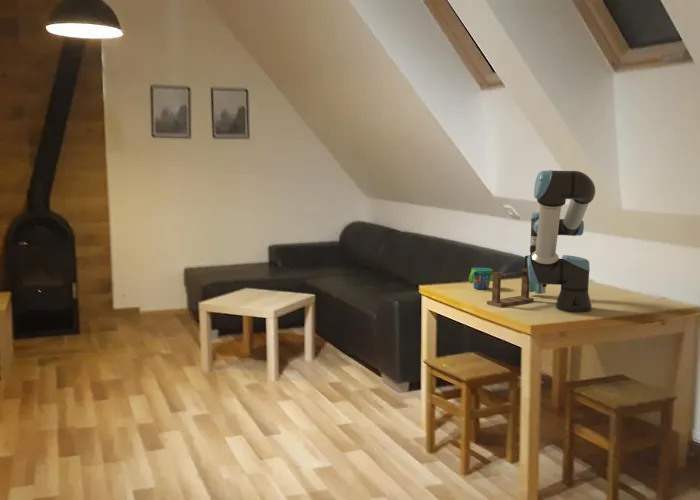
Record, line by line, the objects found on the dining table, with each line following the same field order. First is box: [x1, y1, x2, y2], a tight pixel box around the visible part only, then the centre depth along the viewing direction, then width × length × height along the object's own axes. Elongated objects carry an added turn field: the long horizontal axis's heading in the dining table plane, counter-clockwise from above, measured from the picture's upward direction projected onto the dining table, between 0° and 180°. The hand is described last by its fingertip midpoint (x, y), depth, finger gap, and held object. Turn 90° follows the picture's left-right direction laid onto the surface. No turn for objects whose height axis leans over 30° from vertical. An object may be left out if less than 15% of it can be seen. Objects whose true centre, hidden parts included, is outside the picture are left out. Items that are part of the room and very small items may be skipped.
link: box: [529, 282, 547, 295], centre depth 350 cm, size 5×7×8 cm
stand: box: [486, 267, 535, 308], centre depth 333 cm, size 23×8×15 cm, turn 127°
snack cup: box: [468, 267, 494, 290], centre depth 369 cm, size 16×10×10 cm
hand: (536, 292), depth 350 cm, fingers closed on link, 7 cm apart
